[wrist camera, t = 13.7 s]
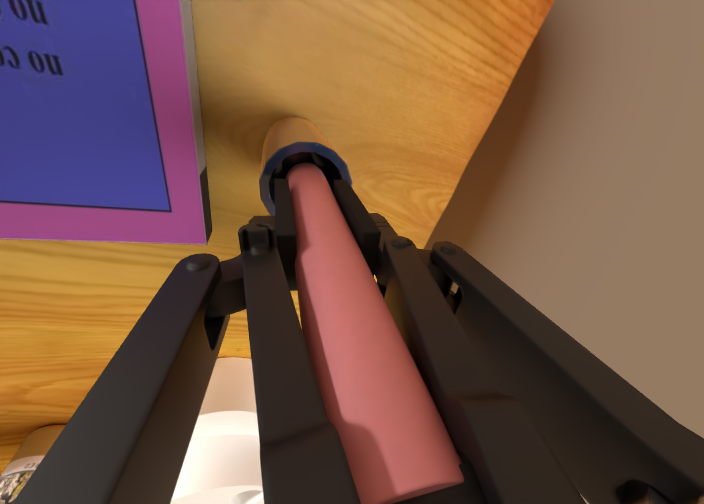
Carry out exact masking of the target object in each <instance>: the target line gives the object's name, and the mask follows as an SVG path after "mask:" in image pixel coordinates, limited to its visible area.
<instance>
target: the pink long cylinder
mask: <svg viewBox="0 0 704 504" xmlns="http://www.w3.org/2000/svg"><path fill="white" fill-rule="evenodd" d="M286 179H288V181H289V188H290V195H291V202H292V209H293V215H294V222H295V229H296V244H297V256H296V259H295V272H296V281H297V290H298V299H299V308H300V317H301V326H302V333H303V336H304V339H305V343H306V346H307V349H308V353H309V356H310V359H311V363H312V366H313V369H314V373H315V376H316V380H317V383H318V386H319V390H320V393H321V396H322V400H323V403H324V406H325V410H326V413H327V416H328V419H329V421H330V422H331V423H332V424H334V425H335V427H336V429H337V431H338V434H339V436H340V439H341V442H342V445H343V448H344V451H345V454H346V458H347V461H348V464H349V467H350V470H351V473H352V477H353V480H354V483H355V486H356V489H357V492H358V496H359V499H360V502H361V504H393V503H396V502H400V501H403V500H406V499H410V498H413V497H417V496H420V495H423V494H427V493H430V492H434V491H437V490H440V489H444V488H447V487H450V486H454V485H457V484H461V483H463V482H464V477H463V475H462V472H461V470H460V468H459V466H458V465H459V464H463V461H462V459H461V457H460V456H459V455H458V454H457V452H456V450H455V447H454V445H453V443H452V440H451V438H450V436H449V434H448V432H447V429H446V427H445V425H444V423H443V421H442V418H441V416H440V414H439V412H438V410H437V407H436V405H435V403H434V401H433V399H432V397H431V395H430V393H429V391H428V389H427V387H426V385H425V383H424V381H423V378H422V376H421V374H420V372H419V370H418V368H417V366H416V364H415V362H414V360H413V358H412V356H411V354H410V352H409V350H408V347H407V345H406V343H405V341H404V339H403V337H402V335H401V333H400V331H399V329H398V327H397V325H396V323H395V321H394V319H393V316H392V314H391V312H390V310H389V308H388V306H387V304H386V302H385V300H384V298H383V296H382V294H381V292H380V290H379V288H378V285H377V283H376V281H375V279H374V277H373V275H372V273H371V271H370V269H369V267H368V265H367V263H366V261H365V259H364V257H363V254H362V252H361V250H360V248H359V246H358V244H357V242H356V240H355V238H354V236H353V234H352V232H351V230H350V228H349V226H348V223H347V221H346V219H345V217H344V215H343V213H342V211H341V209H340V207H339V205H338V203H337V201H336V199H335V197H334V195H333V192H332V190H331V188H330V186H329V184H328V182H327V180H326V178H325V176H324V174H323V172H322V171H321V169H320V168H319V167H317V166H316V165H314V164H311V163H299V164H297V165H295V166H293V167H292V168H291V169H290V170H289V172H288V173H287V176H286Z"/></svg>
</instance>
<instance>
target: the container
mask: <svg viewBox="0 0 704 504" xmlns="http://www.w3.org/2000/svg"><path fill="white" fill-rule="evenodd" d="M170 504H264V498H263V487H262V476H261V465H260V442H259V431H258V421H257V411H256V401H255V391H254V380H253V370H252V360H251V359H249V358H242V357H227V358H219V359H217V360H216V363H215V366H214V369H213V372H212V375H211V378H210V381H209V384H208V388H207V391H206V394H205V397H204V400H203V403H202V406H201V409H200V413H199V416H198V419H197V422H196V425H195V428H194V431H193V434H192V437H191V441H190V444H189V447H188V450H187V453H186V456H185V459H184V462H183V465H182V469H181V472H180V475H179V478H178V481H177V484H176V487H175V490H174V494H173V497H172V500H171V503H170Z"/></svg>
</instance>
